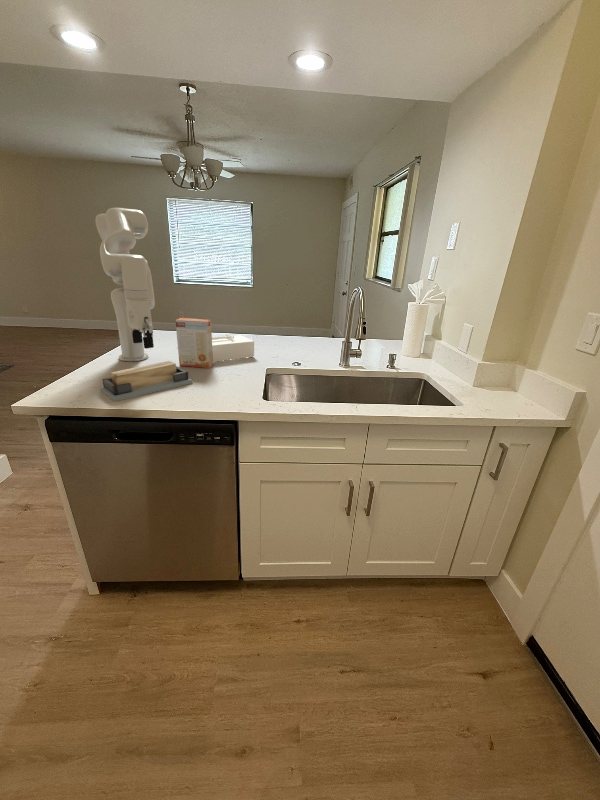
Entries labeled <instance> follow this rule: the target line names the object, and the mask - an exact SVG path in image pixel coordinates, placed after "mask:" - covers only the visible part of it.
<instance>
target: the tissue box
mask: <svg viewBox="0 0 600 800" xmlns="http://www.w3.org/2000/svg"><path fill="white" fill-rule="evenodd" d="M212 351H213V362H214V363H218V362H217V361H222V362H224V361H223V360H230V359H237V360H240V359H239V358H245V359H247V358H246V357H252V356H254V357H255V341H254V340H252V339H250V338H247V337H246V336H243V335H241V334H240V335H232V334H231V333H226V335H225V336H212ZM230 361H231V360H230Z"/></svg>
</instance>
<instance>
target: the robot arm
mask: <svg viewBox="0 0 600 800" xmlns="http://www.w3.org/2000/svg"><path fill="white" fill-rule="evenodd" d="M95 226H96V230H97V232H98V235H99V237H100V239H101V240H102V241H101V244H100V245H99V246H100V247H99V255H100V256H99V257H100V263H101V265H102V269H103V272H104V273H105V274H106V275H107V276H109V277H111V279H112V281H113V282H114V283H115V284H117V285H122V286H123V287H119V288H118V287H117V288H114V289H113V290H111V292H110V300H111V302H112V306H113V310H114V313H115V317H116V324H117V329H118V337H119V343H120V349H121V354H120V355H118V359H119V361H122V362H141V361H144V360H145V361H146V360H147V359H148V358H149V354H148V353H146V352H145V349H151V348H152V349H153V348H154V335H153V334H154V326H153V318H152V312H151V310H152V309H154V308H155V305H156V301H155V300H156V299H155V292H154V285H153V278H152V271H151V268H150V267H149V263H148V260H146V258H145V257H144V256H143V255H140V254H132V253H131V252H130V250H132V249H134V247H135V246H136V243H137V240H142V239H144V238H145V237H146V235H147V234H148V232H149V222H148V219H147V216H146V214H145V213H144V212H143V211H141V210H138V209H134V208H133V209H132V208H125V207H110V208H108V209H107V210H106V212H105V213H99V214H97V215H96V216H95ZM130 253H131V254H130Z"/></svg>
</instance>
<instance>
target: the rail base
mask: <svg viewBox="0 0 600 800" xmlns="http://www.w3.org/2000/svg"><path fill="white" fill-rule="evenodd" d="M176 372H177V373H175V374H173V379H172V380H168V381H164V382H160V383H156V384H152V385H148V386H144V387H140V388H136V389H132V387H131V383H126V384H121V385H114V384H113V380H112V376H111V377H106V378H102V379H101V380H102V384H103V385H100V386H99V387H100V391H101V392H102V393H103V394H104V395H106V396H107V397H108V398H109V399H111V400H112V401H113V402H118V401H122V400H126V399H131V398H134V396H136V397H140V396H144V395H148V394H153V393H157V392H161V391H165V389H166V390H169V389H174V388H177V387H181V386H182V385H183V386H185V385H190V384H191V385H192V384H193V379H192V378H190V377H189V371H188V370H184V369H183V368H180V367H179V366H177V365H176ZM156 391H157V392H156ZM152 392H153V393H152ZM143 394H144V395H143ZM139 395H140V396H139ZM130 397H131V398H130Z"/></svg>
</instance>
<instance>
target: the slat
mask: <svg viewBox="0 0 600 800" xmlns="http://www.w3.org/2000/svg"><path fill="white" fill-rule="evenodd" d="M176 366H177V365H176V362H172V361H170V360H166V361H161V362H156V363H150V364H146V365H141V366H136V367H131V368H127V369H122V370H117V371H112V372H110V373H111V377H112V380H113V384H114V385H121V384H126V383H131V387H132V389H136V388H140V387H144V386H148V385H152V384H156V383H160V382H164V381H168V380H172V379H173V374H175V373H177V372H176Z"/></svg>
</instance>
